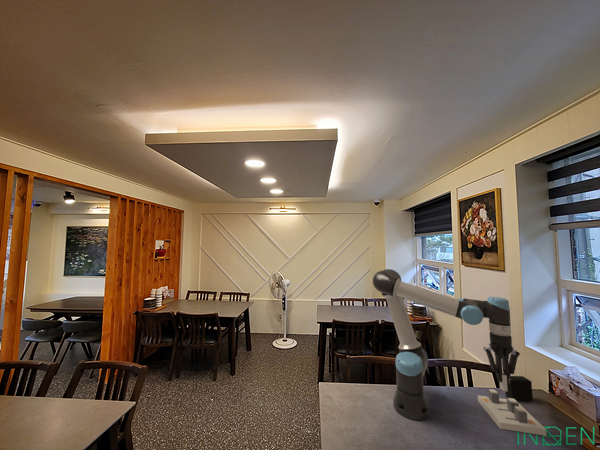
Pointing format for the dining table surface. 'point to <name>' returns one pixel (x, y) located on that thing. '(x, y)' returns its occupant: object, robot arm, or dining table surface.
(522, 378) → the electronic device
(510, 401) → the slider mid
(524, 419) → the slider near
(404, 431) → the dining table surface
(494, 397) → the slider far
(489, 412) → the switch unit
